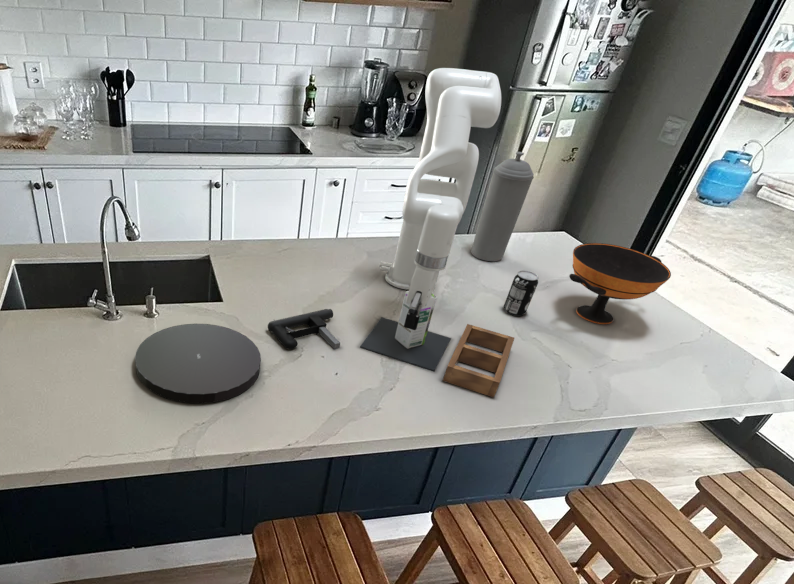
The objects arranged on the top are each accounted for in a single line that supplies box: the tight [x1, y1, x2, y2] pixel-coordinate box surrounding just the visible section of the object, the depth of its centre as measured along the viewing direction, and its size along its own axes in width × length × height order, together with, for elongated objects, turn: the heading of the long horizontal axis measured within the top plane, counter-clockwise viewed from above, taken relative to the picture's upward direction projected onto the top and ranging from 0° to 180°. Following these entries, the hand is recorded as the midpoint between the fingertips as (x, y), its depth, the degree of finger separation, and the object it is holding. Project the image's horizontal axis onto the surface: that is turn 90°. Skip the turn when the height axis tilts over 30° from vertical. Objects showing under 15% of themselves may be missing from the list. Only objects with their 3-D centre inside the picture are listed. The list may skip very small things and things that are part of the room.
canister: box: [470, 151, 535, 262], centre depth 192 cm, size 13×13×35 cm
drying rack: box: [442, 323, 515, 398], centre depth 146 cm, size 12×24×4 cm, turn 152°
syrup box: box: [395, 290, 438, 349], centre depth 149 cm, size 6×6×14 cm
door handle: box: [267, 308, 341, 350], centre depth 153 cm, size 3×20×16 cm
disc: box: [134, 323, 262, 404], centre depth 138 cm, size 30×30×3 cm
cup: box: [569, 242, 672, 325], centre depth 168 cm, size 36×26×18 cm
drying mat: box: [359, 316, 452, 372], centre depth 154 cm, size 20×18×1 cm
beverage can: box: [503, 270, 539, 317], centre depth 168 cm, size 7×7×12 cm
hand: (414, 320), depth 150 cm, fingers closed on syrup box, 7 cm apart
